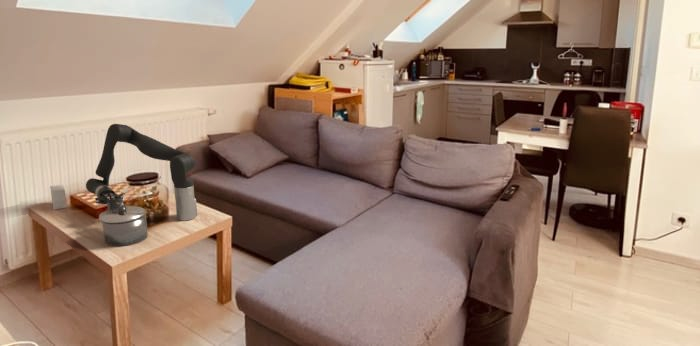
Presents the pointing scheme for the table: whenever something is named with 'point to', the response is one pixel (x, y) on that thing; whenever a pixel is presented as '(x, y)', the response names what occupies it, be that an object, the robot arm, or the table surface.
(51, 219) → the table surface
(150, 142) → the robot arm
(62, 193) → the skincare box
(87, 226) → the table surface
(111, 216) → the lid
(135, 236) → the pot
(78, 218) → the table surface
